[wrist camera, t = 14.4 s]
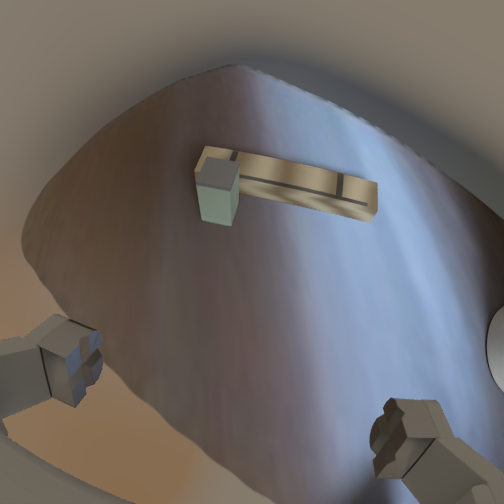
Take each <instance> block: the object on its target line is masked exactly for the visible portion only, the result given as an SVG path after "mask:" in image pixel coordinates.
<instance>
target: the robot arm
mask: <svg viewBox="0 0 504 504" xmlns="http://www.w3.org/2000/svg"><path fill="white" fill-rule="evenodd" d="M101 343H102V342H101V333H100V332H99V331H98V330H96V329H93V328H91V327H88V326H86V325H83V324H81V323H78V322H76V321H74V320H71V319H68V318H66V317H63V316H61V315H59V314H54V315H52V316H51V317H49V318H48V319H47V320H46V321H44V322H43V323H41V324H40V325H39V326H38V327H36V328H35V329H34V330H33V331H31V332H30V333H29V334H27V335H26V336H25V337H23V338H21V337H19V336H18V337H13V338H8V339H3V340H0V504H135V503H133V502H130V501H127V500H125V499H122V498H120V497H117V496H115V495H112V494H110V493H108V492H105V491H103V490H101V489H99V488H97V487H94V486H92V485H90V484H88V483H86V482H84V481H82V480H80V479H78V478H75V477H74V476H72V475H70V474H68V473H66V472H64V471H63V470H61V469H59V468H57V467H55V466H53V465H52V464H50V463H48V462H46V461H45V460H43V459H41V458H40V457H38V456H36V455H35V454H33V453H31V452H30V451H28V450H27V449H25V448H24V447H22V446H20V445H19V444H18V443H16V442H15V441H13V440H12V439H10V438H9V437H7V436H8V432H7V429H6V427H5V425H4V423H3V421H2V419H3V418H5V417H8V416H10V415H13V414H15V413H17V412H20V411H22V410H25V409H27V408H30V407H32V406H34V405H37V404H39V403H42V402H44V401H46V400H48V399H50V398H51V397H52V398H55V399H57V400H59V401H61V402H63V403H65V404H67V405H70V406H72V407H74V408H76V406H77V405H78V404H79V403H80V401H81V400H82V399H83V398H84V396H85V395H86V387H88V386H91V385H94V384H95V382H96V381H97V380H98V379H99V376H100V374H101V371H102V366H103V356H102V354H101V352H100V351H99V349H98V347H99V346H100V344H101ZM487 356H488V362H489V367H490V370H491V373H492V376H493V378H494V380H495V382H496V383H497V385H498V386H499V387H500V389H501V390H502V391H503V392H504V306H503V307H502V308H501V309H499V310H498V311H497V313H496V314H495V315H494V317H493V319H492V321H491V324H490V327H489V331H488V337H487ZM383 410H384V413H385V414H383V415H382V416H380V417H378V418H377V419H376V421H375V422H374V424H373V426H372V429H371V433H370V448H371V450H372V451H373V452H374V453H375V454H376V456H375V458H374V459H373V465H374V471H375V477H376V478H379V479H402V481H403V483H404V484H405V485H406V486H407V488H408V489H409V490H410V492H411V493H412V494H413V495H414V497H415V498H416V499H417V500H418V502H419V503H420V504H504V473H503V472H501V471H500V470H499V469H497V468H496V467H495V466H494V465H492V464H491V463H490V462H489V461H487V460H486V459H485V458H483V457H482V456H481V455H480V454H478V453H477V452H476V451H475V450H473V449H472V448H471V447H470V446H468V445H467V444H466V443H465V442H463V441H462V440H461V439H460V438H455V437H454V435H453V433H452V431H451V428H450V426H449V424H448V421H447V419H446V417H445V415H444V413H443V410H442V408H441V406H440V404H439V402H437V401H436V400H414V399H400V398H390V399H389V400H388V401H387V402H386V404H385V405H384V407H383Z"/></svg>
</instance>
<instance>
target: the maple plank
mask: <svg viewBox="0 0 504 504" xmlns="http://www.w3.org/2000/svg"><path fill="white" fill-rule="evenodd" d="M206 157H213V158H218V159H224V160H230V161H235V162H239V193H242V194H247V195H252V196H256V197H261V198H266V199H271V200H275V201H280V202H285V203H289V204H294V205H298V206H302V207H307V208H311V209H316V210H320V211H324V212H328V213H333V214H337V215H341V216H345V217H349V218H353V219H357V220H361V221H365V222H369V223H370V222H371V221H372V219H373V217H374V216H375V214H376V213H377V211H378V194H377V183H376V182H372V181H368V180H365V179H361V178H357V177H353V176H350V175H346V174H342V173H338V172H334V171H330V170H326V169H321V168H317V167H313V166H309V165H304V164H300V163H295V162H291V161H286V160H281V159H276V158H271V157H266V156H261V155H256V154H251V153H246V152H240V151H234V150H229V149H223V148H217V147H211V146H205V148H204V150H203V152H202V155H201V157H200V159H199V161H198V163H197V166H196V168H195V170H194V173H195V180H197V177H198V175H199V173H200V170H201V168H202V166H203V164H204V161H205V159H206Z"/></svg>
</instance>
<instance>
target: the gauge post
mask: <svg viewBox="0 0 504 504" xmlns="http://www.w3.org/2000/svg"><path fill="white" fill-rule="evenodd" d="M196 187H197V194H198V200H199V206H200V213H201V219H202V220H203V221H208V222H213V223H217V224H222V225H227V226H231V225H232V222H233V219H234V216H235V213H236V209H237V206H238V203H239V162H235V161H230V160H224V159H218V158H213V157H206V159H205V161H204V164H203V166H202V168H201V170H200V173H199V175H198V177H197V180H196Z"/></svg>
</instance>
